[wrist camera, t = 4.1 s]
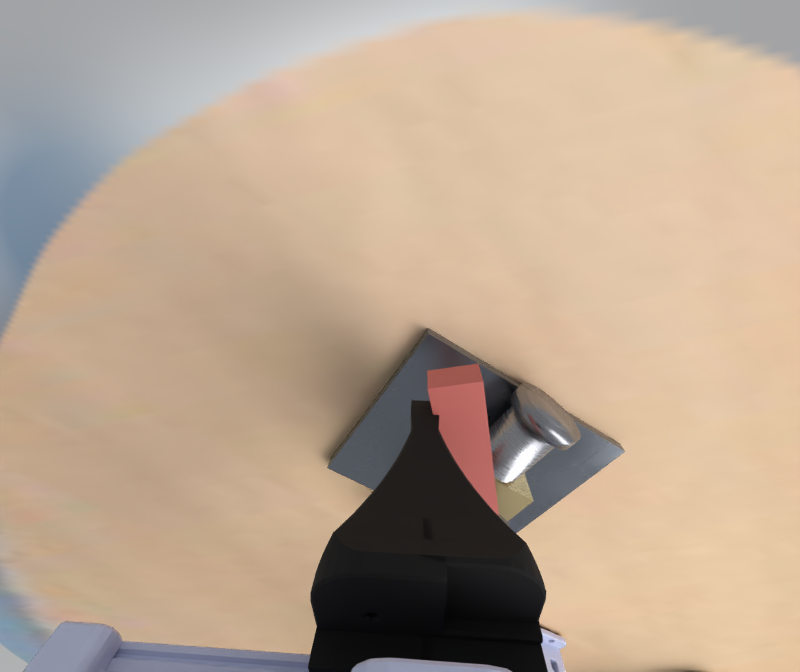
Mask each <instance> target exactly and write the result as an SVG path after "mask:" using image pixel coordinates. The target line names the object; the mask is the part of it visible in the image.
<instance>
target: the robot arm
mask: <svg viewBox="0 0 800 672" xmlns="http://www.w3.org/2000/svg"><path fill="white" fill-rule="evenodd" d="M545 600H546V590H545V586H544V582H543V579H542V576H541V574H540V571H539V569H538V566H537V564H536V562H535V560H534V557H533V555H532V553H531V551H530V549H529V547H528V545H527V543H526V542H525V541H523V540H522V539H521V538H520V537H519V536H518V535H517V534H516V533H515V532H514V531H513V530H512V529H511V528H510V527H509V526H508V525H507V524H506V523H505V522H504V521H503V520H502V519H501V518H500V517H499V516H498V515H497V514H496V513H495V512H494V511H493V510H492V509H491V507H490V506H489V505H488V504H487V503H486V501H485V500H484V499H483V498H482V497H481V496H480V494H479V493H478V492H477V491H476V490H475V488H474V487H473V486H472V484H471V483H470V482H469V480H468V479H467V478H466V476H465V475H464V473H463V472H462V470H461V469H460V467H459V466H458V464H457V463H456V461H455V459H454V458H453V456H452V454H451V452H450V451H449V449H448V447H447V445H446V443H445V441H444V439H443V437H442V435H441V433H440V431H439V415H433V412H432V407H431V403H430V401H420V400H412V402H411V432H410V434H409V436H408V438H407V440H406V442H405V444H404V446H403V448H402V450H401V452H400V454H399V455H398V457H397V459H396V460H395V462H394V463H393V465H392V467H391V468H390V470H389V471H388V473H387V474H386V475H385V477H384V478H383V479H382V481H381V482H380V483H379V485H378V486H377V487H376V489H375V490H374V491H373V492H372V494H371V495H370V496H369V497H368V498H367V499H366V500H365V501H364V503H363V504H362V505H361V506H360V507H359V508H358V509H357V510H356V511H355V512H354V513H353V514H352V515H351V516H350V517H349V518H348V519H347V520H346V521H345V522H344V523H343V524H342V525H341V526H340V527H339V528H338V529H337V530H336V531H335V532H334V533H333V534H332V536H331V538H330V540H329V542H328V544H327V546H326V548H325V550H324V553H323V555H322V557H321V560H320V562H319V565H318V568H317V571H316V574H315V578H314V582H313V586H312V590H311V604H312V608H313V612H314V617H315V621H316V625H317V628H316V633H315V637H314V642H313V646H312V650H311V655H306V654H293V653H279V652H265V651H252V650H238V649H225V648H211V647H197V646H184V645H170V644H157V643H143V642H129V641H122V638H121V636H120V634H119V633H118V631H117V630H115V629H114V628H113V627H110V626H108V625H104V624H98V623H83V622H69V621H65V622H63V623H61V624H60V625H59V626H58V627H57V629H56V630H55V631H54V633H53V634H52V635H51V636H50V638H49V639H48V640H47V641H46V643H45V644H44V645H43V646H42V648H41V649H40V650H39V652H38V653H37V654H36V655H35V657H34V658H33V659H32V660H31V662H30V663H29V664H28V666H27V667H26V668H25V669H24V671H23V672H566V671H565V667H564V664H563V660H562V657H561V653H560V649H561V648H563V647H565V646H566V641H565V639H564V638H563V637H561V636H559V635H556V634H554V633H552V632H550V631H547V630H545V629H543V628H540V624H539V617H540V614H541V612H542V609H543V606H544V603H545Z"/></svg>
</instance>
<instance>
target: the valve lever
mask: <svg viewBox="0 0 800 672" xmlns="http://www.w3.org/2000/svg"><path fill="white" fill-rule="evenodd" d="M427 376H428V393H429V398H430V403H431V407H432V412H433V415H439V431H440V433H441V435H442V437H443V439H444V441H445V443H446V445H447V447H448V449H449V451H450V452H451V454H452V456H453V458H454V459H455V461H456V463H457V464H458V466H459V467H460V469H461V470H462V472H463V473H464V475H465V476H466V478H467V479H468V480H469V482H470V483H471V484H472V486H473V487H474V488H475V490H476V491H477V492H478V493H479V494H480V496H481V497H482V498H483V499H484V500H485V501H486V503H487V504H488V505H489V506H490V507H491V509H492V510H493V511H494V512H495V513H496V514H497V515H498V516H499V517H500V518H501V519H502V520H503V521H504V522H505V523H506V524H507V525H508V526H509V524H508V522H507V521H506V520H505V518H503V517H502V516H501V515H499V512H498V503H497V494H496V486H495V477H494V469H493V460H492V451H491V443H490V434H489V426H488V417H487V408H486V400H485V391H484V383H483V378H482V375H481V371H480V367H479V364H472V365H464V366H457V367H450V368H443V369H435V370H428V371H427Z"/></svg>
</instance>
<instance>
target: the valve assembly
mask: <svg viewBox="0 0 800 672" xmlns="http://www.w3.org/2000/svg"><path fill="white" fill-rule="evenodd" d="M472 364H479V367H480V371H481V375H482V378H483V383H484V391H485V400H486V408H487V417H488V426H489V434H490V443H491V451H492V460H493V469H494V477H495V486H496V494H497V503H498V512H499V515H501V516H502V517H503V518H505V520H506V521H507V522H508V524H509V527H510V528H511V529H512V530H513V531H514V532H515V533H517V532H519V531H520V530H521V529H523V528H524V527H525V526H527V525H528V524H529V523H531V522H532V521H533V520H535V519H536V518H537V517H539V516H540V515H541V514H543V513H544V512H545V511H547V510H548V509H549V508H551V507H552V506H553V505H555V504H556V503H557V502H559V501H560V500H561V499H563V498H564V497H565V496H567V495H568V494H569V493H571V492H572V491H573V490H575V489H576V488H577V487H579V486H580V485H581V484H583V483H584V482H585V481H587V480H588V479H589V478H591V477H592V476H593V475H595V474H596V473H597V472H599V471H600V470H601V469H603V468H604V467H605V466H607V465H608V464H609V463H611V462H612V461H613V460H615V459H616V458H617V457H619V456H620V455H621V454H623V453H624V452H625V451H624V449H623V448H622V446H621V445H620V443H618V442H616V441H615V440H613V439H611V438H610V437H608V436H606V435H605V434H603V433H601V432H600V431H598V430H596V429H595V428H593V427H591V426H590V425H588V424H586V423H585V422H583V421H581V420H580V419H578V418H576V417H575V416H573V415H571V414H570V413H568V412H566V411H565V410H564V409H563V408H562V407H561V406H560V405H559V404H558V403H557V402H556V401H555V400H554V399H552V398H551V397H550V396H549V395H547V394H546V393H545V392H543V391H542V390H540V389H539V388H537V387H535V386H533V385H531V384H528V383H522V384H520V383H518V382H517V381H515V380H513V379H512V378H510V377H508V376H507V375H505V374H504V373H502V372H500V371H499V370H497V369H495V368H494V367H492V366H490V365H489V364H487V363H485V362H484V361H482V360H480V359H479V358H477V357H475V356H474V355H472V354H470V353H469V352H467V351H465V350H464V349H462V348H460V347H459V346H457V345H455V344H454V343H452V342H450V341H449V340H447V339H446V338H444V337H442V336H441V335H439V334H437V333H436V332H434V331H432V330H431V329H429V328H428V330H427V331H426V332H425V334H424V335H423V336H422V338H421V339H420V340H419V342H418V343H417V344H416V346H415V347H414V348H413V350H412V351H411V352H410V354H409V355H408V356H407V358H406V359H405V360H404V362H403V363H402V364H401V366H400V367H399V368H398V370H397V371H396V372H395V374H394V375H393V376H392V378H391V379H390V380H389V382H388V383H387V384H386V386H385V387H384V388H383V390H382V391H381V392H380V394H379V395H378V396H377V398H376V399H375V400H374V402H373V403H372V404H371V406H370V407H369V408H368V410H367V411H366V412H365V414H364V415H363V416H362V418H361V419H360V420H359V422H358V423H357V424H356V426H355V427H354V428H353V430H352V431H351V432H350V434H349V435H348V436H347V438H346V439H345V440H344V442H343V443H342V444H341V446H340V447H339V448H338V450H337V451H336V452H335V454H334V455H333V456H332V458H331V459H330V461H329V464H328V467H327V468H329V469H331V470H333V471H335V472H337V473H339V474H341V475H343V476H345V477H347V478H350V479H352V480H354V481H356V482H358V483H360V484H362V485H364V486H366V487H368V488H370V489H373V490H375V489H376V487H377V486H378V485H379V483H380V482H381V481H382V479H383V478H384V477H385V475H386V474H387V473H388V471H389V470H390V468H391V467H392V465H393V463H394V462H395V460H396V459H397V457H398V455H399V454H400V452H401V450H402V448H403V446H404V444H405V442H406V440H407V438H408V436H409V434H410V432H411V402H412V400H420V401H430V398H429V393H428V376H427V371H428V370H435V369H443V368H450V367H457V366H464V365H472Z"/></svg>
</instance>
